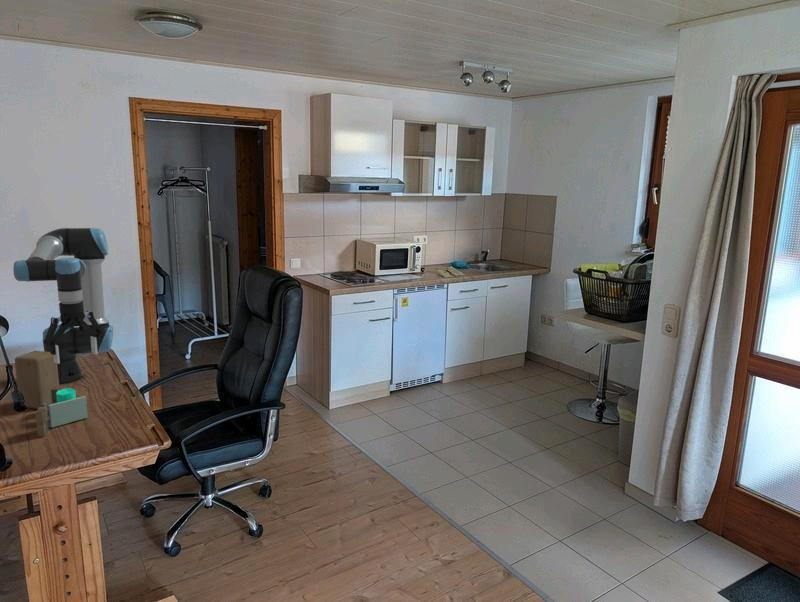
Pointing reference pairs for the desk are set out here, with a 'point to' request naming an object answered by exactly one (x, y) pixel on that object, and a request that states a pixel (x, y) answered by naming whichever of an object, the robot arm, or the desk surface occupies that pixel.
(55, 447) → the desk surface
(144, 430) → the desk surface
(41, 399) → the wooden block
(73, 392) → the candle
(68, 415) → the sage green plank
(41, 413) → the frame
